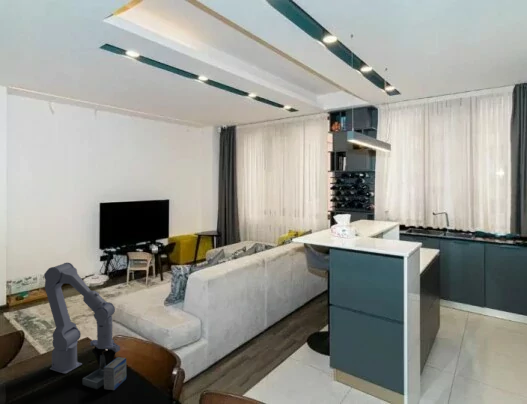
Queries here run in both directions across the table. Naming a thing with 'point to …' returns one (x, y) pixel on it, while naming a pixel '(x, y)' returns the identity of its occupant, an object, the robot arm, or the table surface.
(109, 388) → the medicine box
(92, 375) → the trough
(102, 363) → the battery cell
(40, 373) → the table surface
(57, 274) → the robot arm
